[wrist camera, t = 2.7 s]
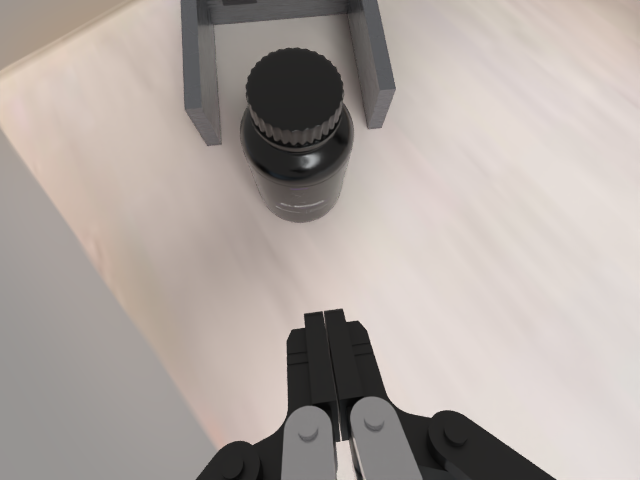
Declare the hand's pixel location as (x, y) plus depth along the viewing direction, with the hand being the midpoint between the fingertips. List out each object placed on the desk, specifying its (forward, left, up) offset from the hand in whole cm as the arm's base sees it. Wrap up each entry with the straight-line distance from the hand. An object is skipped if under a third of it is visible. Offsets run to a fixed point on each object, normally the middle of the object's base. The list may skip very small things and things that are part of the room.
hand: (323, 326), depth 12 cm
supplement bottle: (-7, -9, -12) cm, 17 cm away
